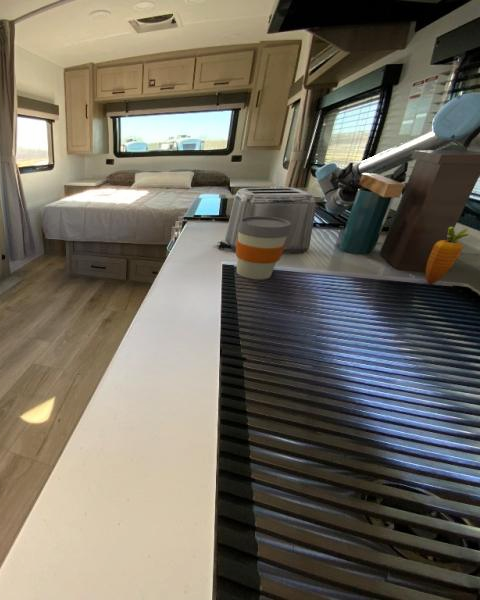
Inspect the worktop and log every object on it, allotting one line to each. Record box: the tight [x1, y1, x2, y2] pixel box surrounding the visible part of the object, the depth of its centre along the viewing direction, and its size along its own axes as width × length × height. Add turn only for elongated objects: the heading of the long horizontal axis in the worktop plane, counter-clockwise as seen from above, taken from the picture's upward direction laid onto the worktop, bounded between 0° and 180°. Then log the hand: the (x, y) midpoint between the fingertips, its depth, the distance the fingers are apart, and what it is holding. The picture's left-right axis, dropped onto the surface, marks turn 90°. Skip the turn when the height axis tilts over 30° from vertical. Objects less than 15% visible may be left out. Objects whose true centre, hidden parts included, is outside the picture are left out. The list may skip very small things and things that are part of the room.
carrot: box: [425, 227, 469, 285], centre depth 81 cm, size 5×5×15 cm
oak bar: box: [359, 173, 406, 199], centre depth 99 cm, size 24×4×4 cm, turn 156°
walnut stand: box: [379, 149, 480, 273], centre depth 91 cm, size 16×10×30 cm, turn 156°
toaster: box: [216, 187, 320, 255], centre depth 110 cm, size 17×30×19 cm, turn 81°
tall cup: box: [338, 188, 395, 256], centre depth 104 cm, size 9×9×19 cm
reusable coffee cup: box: [235, 216, 291, 280], centre depth 92 cm, size 13×13×15 cm
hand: (378, 166), depth 102 cm, fingers open, 13 cm apart
